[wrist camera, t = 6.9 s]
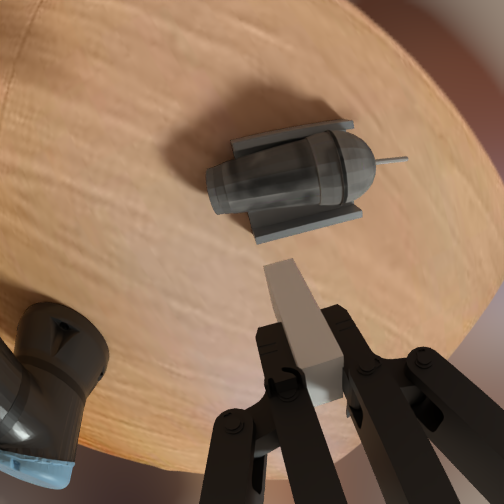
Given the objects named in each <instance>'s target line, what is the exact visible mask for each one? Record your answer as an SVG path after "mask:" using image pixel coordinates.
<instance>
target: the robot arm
mask: <svg viewBox="0 0 504 504" xmlns="http://www.w3.org/2000/svg"><path fill="white" fill-rule="evenodd" d="M263 267H264V271H265V276H266V280H267V284H268V289H269V293H270V297H271V302H272V306H273V310H274V313H275V316H276V319H277V322H278V323H274V324H271V325H267V326H263V327H259V328H258V330H257V334H256V337H255V338H256V342H257V347H258V351H259V355H260V360H261V364H262V368H263V373H264V377H265V379H264V386H265V389H266V392H265V394H264V396H263V398H262V399H261V400H260V401H259V402H257V403H256V404H255V405H253V406H251V407H249V408H247V409H246V410H243V409H237V408H234V409H228V410H226V411H224V412H222V413H221V414H220V415H219V416H218V417H217V418H216V420H215V423H214V426H213V432H212V437H211V442H210V448H209V453H208V458H207V464H206V469H205V475H204V480H203V486H202V491H201V497H200V502H199V504H263V502H264V491H265V478H266V465H267V453H269V452H271V451H273V450H274V449H276V448H278V447H281V451H282V455H283V459H284V463H285V467H286V471H287V475H288V479H289V483H290V486H291V490H292V494H293V498H294V502H295V504H347V501H346V498H345V495H344V492H343V489H342V487H341V483H340V480H339V478H338V475H337V472H336V469H335V466H334V463H333V460H332V457H331V455H330V452H329V449H328V446H327V443H326V440H325V437H324V435H323V432H322V429H321V426H320V423H319V420H318V418H317V415H316V412H315V409H314V407H315V406H318V405H322V404H325V403H328V402H331V401H334V400H337V399H340V398H343V392H344V394H345V397H346V399H347V408H346V415H347V418H348V417H350V416H351V418H352V421H353V423H354V426H355V428H356V430H357V433H358V435H359V437H360V440H361V442H362V444H363V447H364V450H365V452H366V454H367V457H368V459H369V462H370V464H371V467H372V469H373V472H374V474H375V476H376V479H377V481H378V484H379V487H380V489H381V491H382V494H383V497H384V499H385V502H386V504H460V501H459V499H458V497H457V495H456V493H455V491H454V489H453V487H452V485H451V482H450V480H449V478H448V476H447V475H446V472H445V471H444V468H443V466H442V465H441V462H440V461H439V458H438V457H437V455H436V453H435V451H434V449H433V447H432V445H431V443H430V441H429V439H430V440H431V441H432V442H433V444H434V445H435V446H436V447H437V448H438V449H439V450H440V451H441V452H442V453H443V454H444V455H445V456H446V457H447V458H448V459H449V460H450V461H451V463H452V464H454V466H455V467H456V468H457V469H458V470H459V471H460V472H461V473H462V474H463V475H464V476H465V477H466V478H467V479H468V480H469V482H470V483H471V484H472V485H473V486H474V487H475V488H476V489H477V490H478V491H479V492H480V493H481V494H482V495H483V496H484V497H485V498H486V499H487V500H488V502H489V503H490V504H504V410H503V409H502V408H501V407H500V406H499V405H498V404H496V403H495V402H494V401H493V400H492V399H491V398H490V397H488V395H486V394H485V393H484V392H483V391H482V390H481V389H479V388H478V387H477V386H476V385H475V384H474V383H473V382H471V381H470V380H469V379H468V378H467V377H466V376H464V375H463V374H462V373H461V372H460V371H459V370H458V369H456V368H455V367H454V366H453V365H452V364H451V363H449V362H448V361H447V360H446V359H445V358H443V357H442V356H441V355H440V354H439V353H437V352H436V351H435V350H433V349H431V348H428V347H417V348H415V349H413V350H412V351H411V352H410V353H409V354H408V357H407V358H399V359H384V358H381V357H380V356H378V355H376V354H374V353H373V352H372V351H371V349H370V348H369V346H368V344H367V343H366V341H365V339H364V338H363V336H362V334H361V333H360V331H359V329H358V328H357V327H356V324H355V323H354V321H353V320H352V318H351V316H350V315H349V313H348V312H347V310H346V309H344V308H343V307H341V306H340V305H338V304H336V305H333V306H330V307H327V308H323V309H320V308H319V306H318V304H317V303H316V301H315V299H314V297H313V295H312V293H311V291H310V289H309V287H308V286H307V284H306V282H305V280H304V278H303V276H302V274H301V273H300V271H299V269H298V267H297V265H296V263H295V261H294V260H293V258H291V259H288V260H284V261H280V262H276V263H273V264H269V265H265V266H263ZM108 361H109V350H108V346H107V344H106V341H105V340H104V338H103V336H102V335H101V333H100V332H99V331H98V330H97V328H96V327H95V326H94V325H93V324H92V323H91V322H89V321H88V320H87V319H86V318H84V317H83V316H82V315H80V314H79V313H77V312H75V311H73V310H72V309H70V308H67V307H65V306H62V305H59V304H55V303H47V302H44V303H37V304H34V305H32V306H30V307H29V308H28V309H27V310H26V311H25V313H24V314H23V316H22V318H21V319H20V321H19V324H18V327H17V335H16V341H15V347H14V354H13V353H12V351H11V350H10V349H9V348H8V346H7V345H6V344H5V343H4V341H3V340H2V339H1V337H0V470H1V471H3V472H5V473H7V474H9V475H11V476H14V477H16V478H18V479H21V480H24V481H26V482H29V483H32V484H35V485H39V486H42V487H46V488H51V489H63V488H65V487H66V486H67V485H68V484H69V482H70V477H71V472H72V468H73V466H74V465H75V455H76V449H77V443H78V437H79V432H80V426H81V421H82V416H83V411H84V407H85V403H86V399H87V397H88V396H89V395H90V393H91V392H92V390H93V389H94V388H95V386H96V385H97V383H98V381H100V380H101V378H102V377H103V376H104V374H105V372H106V368H107V364H108ZM428 438H429V439H428Z"/></svg>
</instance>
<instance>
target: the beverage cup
mask: <svg viewBox="0 0 504 504" xmlns="http://www.w3.org/2000/svg"><path fill="white" fill-rule="evenodd" d="M404 161H408V157H407V156H405V157H395V158H385V159H376V160H375V158H374V155H373V153H372V151H371V149H370V148H369V146H368V145H367V144H366V143H365V142H364V141H363V140H362V139H360V138H359V137H357V136H355V135H354V134H351V133H349V132H345V131H337V130H335V131H330V130H325V131H324V132H322V133H317V134H314V135H312V136H309V137H306V138H305V139H303V140H299V141H295V142H292V143H288V144H284V145H281V146H277V147H273V148H270V149H266V150H263V151H260V152H256V153H253V154H249V155H246V156H243V157H240V158H237V159H233V160H230V161H227V162H224V163H223V164H220V165H217V166H215V167H213V168H209V169H207V170H206V184H207V190H208V195H209V198H210V202H211V205H212V207H213V210H214V211H215V213H216V214H217V215H220V214H224V213H225V214H229V213H234V214H235V213H242V212H251V211H259V210H267V209H276V208H285V207H294V206H304V205H313V204H319V205H337V204H338V205H340V206H341V205H343V204H345V203H348V202H351V201H353V200H356V199H357V198H359V197H360V196H362V195H363V194H364V193H365V192H366V191H367V190H368V189H369V188H370V186H371V184H372V183H373V180H374V177H375V173H376V165H378V164H386V163H395V162H404Z"/></svg>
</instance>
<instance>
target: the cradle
mask: <svg viewBox="0 0 504 504" xmlns="http://www.w3.org/2000/svg"><path fill="white" fill-rule="evenodd" d="M353 128H354V124H353V121H352V120H346V119H338V120H331V121H325V122H318V123H312V124H306V125H300V126H295V127H289V128H284V129H279V130H274V131H269V132H264V133H260V134H255V135H251V136H246V137H242V138H238V139H234V140H230V141H231V145H232V149H233V153H234V157H235V159H237V158H240V157H243V156H246V155H249V154H253V153H256V152H260V151H263V150H266V149H270V148H273V147H277V146H281V145H284V144H288V143H292V142H295V141H299V140H303V139H305V138H306V137H309V136H312V135H314V134H317V133H322V132H324V131H325V130H330V131H335V130H337V131H345V132H346V129H353ZM248 215H249V219H250V224H251V228H252V232H253V236H254V238H255V241H256V244H257V245H258V244H261V243H265V242H269V241H273V240H277V239H280V238H284V237H288V236H292V235H296V234H300V233H303V232H307V231H311V230H315V229H319V228H323V227H326V226H330V225H334V224H338V223H342V222H346V221H350V220H354V219H357V218H361V217H363V216H362V210H361V209H360V208H358V207H357V206H356V205H354V200H353V201H351V202H348V203H345V204H343V205H341V206H340V205H338V204H337V205H319V204H313V205H304V206H294V207H285V208H276V209H267V210H259V211H251V212H248Z"/></svg>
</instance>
